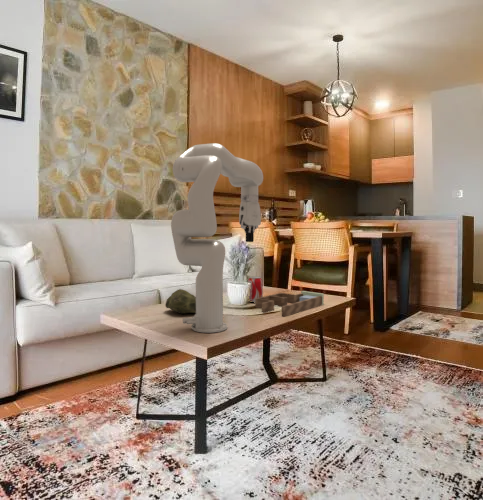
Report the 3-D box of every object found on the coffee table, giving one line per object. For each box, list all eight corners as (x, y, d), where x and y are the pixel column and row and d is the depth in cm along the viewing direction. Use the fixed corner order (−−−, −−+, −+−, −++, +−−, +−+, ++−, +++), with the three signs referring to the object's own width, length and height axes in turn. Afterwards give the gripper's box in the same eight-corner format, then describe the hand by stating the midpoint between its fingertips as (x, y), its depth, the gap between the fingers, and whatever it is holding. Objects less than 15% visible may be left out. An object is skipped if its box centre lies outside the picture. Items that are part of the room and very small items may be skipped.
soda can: (261, 304, 183) (261, 278, 182) (246, 303, 185) (246, 277, 184) (263, 301, 190) (263, 276, 189) (249, 300, 191) (249, 275, 191)
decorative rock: (196, 311, 175) (198, 288, 176) (206, 316, 160) (207, 291, 161) (163, 310, 170) (164, 287, 171) (169, 315, 155) (171, 290, 156)
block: (310, 307, 176) (311, 298, 176) (299, 305, 180) (299, 297, 180) (317, 305, 181) (317, 296, 181) (306, 303, 185) (306, 295, 185)
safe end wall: (322, 304, 181) (322, 294, 181) (300, 301, 188) (301, 291, 188) (323, 304, 182) (323, 293, 181) (302, 301, 189) (302, 290, 189)
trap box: (284, 316, 158) (284, 306, 158) (246, 309, 171) (246, 300, 171) (322, 304, 181) (322, 296, 181) (286, 299, 194) (286, 291, 193)
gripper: (245, 198, 165) (245, 242, 166) (266, 200, 176) (266, 241, 178) (231, 199, 170) (231, 242, 171) (253, 200, 181) (253, 241, 183)
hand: (249, 241), depth 174 cm, fingers closed
